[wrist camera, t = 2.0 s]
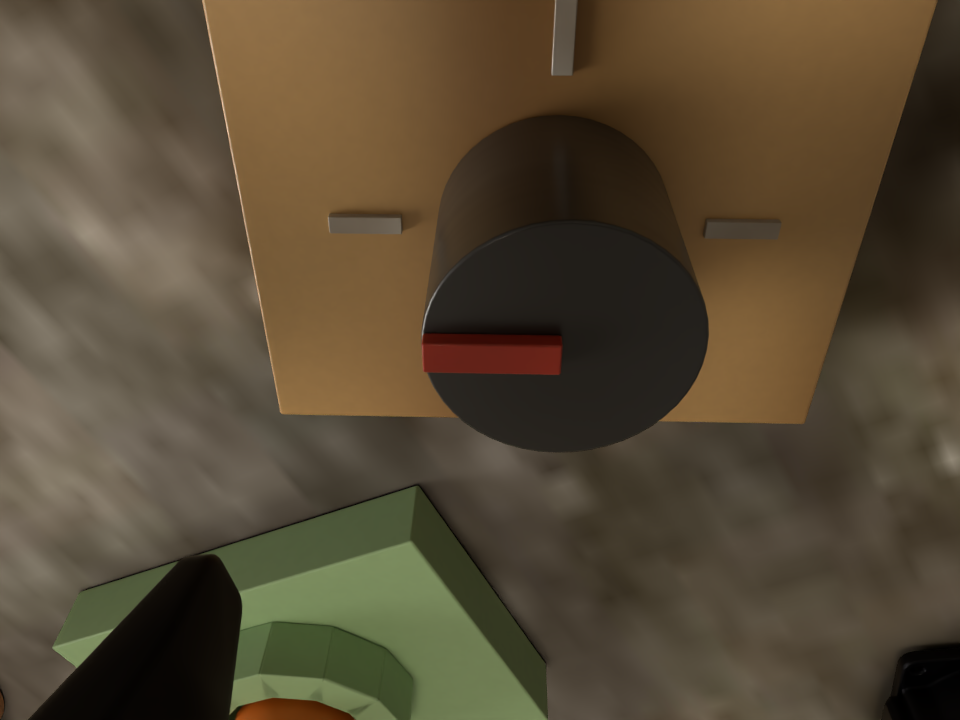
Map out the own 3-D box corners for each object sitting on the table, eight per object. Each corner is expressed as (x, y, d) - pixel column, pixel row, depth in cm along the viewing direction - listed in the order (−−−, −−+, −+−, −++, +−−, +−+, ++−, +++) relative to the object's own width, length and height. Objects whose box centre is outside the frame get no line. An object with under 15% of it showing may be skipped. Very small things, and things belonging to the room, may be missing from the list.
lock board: (888, -94, 15) (963, -59, 13) (771, 347, 21) (807, 430, 19) (238, -97, 15) (185, -64, 13) (305, 339, 22) (278, 420, 19)
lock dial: (685, 115, 15) (739, 233, 11) (653, 321, 17) (689, 469, 14) (434, 112, 15) (411, 229, 11) (441, 318, 17) (424, 464, 14)
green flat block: (418, 483, 25) (405, 596, 21) (546, 663, 30) (550, 774, 27) (79, 591, 28) (24, 701, 25) (247, 735, 34) (220, 840, 30)
